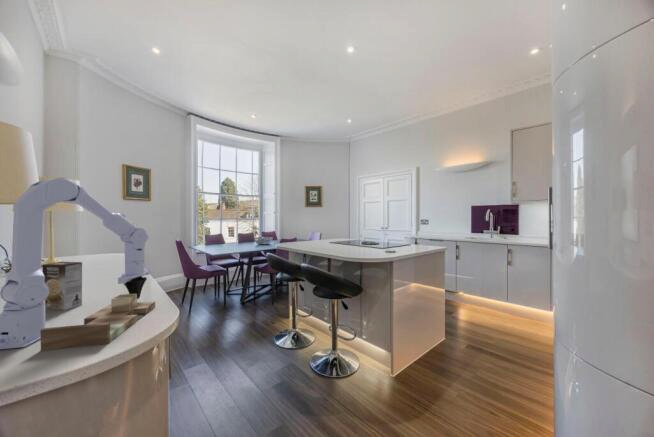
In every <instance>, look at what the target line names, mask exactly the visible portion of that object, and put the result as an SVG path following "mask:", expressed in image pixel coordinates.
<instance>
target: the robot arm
mask: <svg viewBox="0 0 654 437" xmlns="http://www.w3.org/2000/svg"><path fill="white" fill-rule="evenodd" d="M58 203H67V204H74V205H75V204H76V205H78V206H80V207H82V208H83V209H85V210H86V211H87V212H90V213H91V214H93V215H94V216H96V217H98V218H99V219H101V220H102V224H103V226H104V227H105V228H107V229H108V230H110V231H111V232H113V233H114V234H115V235H117V236H118V237H120V241H121V242H122V243H124V273H122V274H121V276H120V277H118V278H117V284H121V285H122V284H123V285H124V286H125V287H126V289H127V291H128V294H137V300H139V299H140V297H141V294H142V290H143V287H144V284H146V281H147V277H145V276H148V275H150V274H151V273H150V272H151V271H150V269H149V268H148V269H146V267H145V263H146V262H145V260H146V259H145V258H146V257H145V254H146V252H145V251H146V250H145V247H146V242H147V240H149V235H148V233H147V231H146V230H145V229H143V228H142V227H137V225H138V224H136V223H134V222H131V221H130V220H129V219H127V218H126V217H127V216H126V214H124V213H119V212H112V211H110V210H109V209H108V208H107V207H106V206H105V205H103V204H102V203H101V202H99V201H98V200H97V199H96V198H95V197H94V196H92V195H91V194H90V193H88V191H87V190H86V189H85V188H84V187H82V186H81V185H79V184H77V183H76V182H75V181H74V180H72V179H70V178H67V177H56V178H51V179H42V180H39V181H37V182H35V183H32V184H30V185H29V187H28V188H27V189H26V191H24V192H23V193H22V194H21V195H20V196H19V197H18V198H17V199H16V200H15V201H14V203H13V222H12V223H13V224H12V225H13V226H12V244H11V245H12V246H11V248H12V249H11V268H10V271H9V273H8V274H7V276H6V280H5V283H4V285H3V286H2V287H1V289H0V298H1V299H2V300H3V301H4V302H5V304H4V306H3V308H2V312H1V313H0V350H8V349H18V348H19V349H20V348H26V347H28V346H30V345H32V344H33V343H35V342H37V341H39V340H41V331H40V330H41V329H43V328H47V327H46V310H45V299H46V298H47V297H48V295H49V288H48V286H47V285H46V284H45V276H44V274H43V269H42V250H43V224H44V220H43V219H44V211H45V210H48V209H49V208H50V207H53V206H54V205H56V204H58Z"/></svg>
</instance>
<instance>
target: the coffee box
mask: <svg viewBox="0 0 654 437" xmlns="http://www.w3.org/2000/svg"><path fill="white" fill-rule="evenodd" d="M42 272H43V274H44V276H45V284H46V285H47V286H48V288H49V295H48V297H47V298H46V299H45V311H46V310H49V311H67V310H70V309H73V308H76V307H79V306H82V304H83V262H82V261H57V262H50V263H45V264H42Z"/></svg>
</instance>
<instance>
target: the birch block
mask: <svg viewBox="0 0 654 437" xmlns="http://www.w3.org/2000/svg"><path fill="white" fill-rule="evenodd" d="M110 300H111V302H110V305H111V312H112V311H125V310H130V309H132V308H133V307H135V306H136V305H137V303H138V299H137V294H129V293H125V294H119V295H116V296H114V297H113V298H111V299H110Z"/></svg>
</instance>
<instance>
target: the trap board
mask: <svg viewBox="0 0 654 437" xmlns="http://www.w3.org/2000/svg"><path fill="white" fill-rule="evenodd" d="M155 308H156V301H155V300H154V301H143V302H137V305H136V306H135V307H133V308H132V309H130V310H125V311H112V312H111V304H109V305H107V306H105V307H103V308H101V309H99V310H98V311H96V312H94V313H92V314H91V315H89V316H87V317H86V316H85V318H84V319H83V324H78V325H77V324H76V325H66V326H56V327H55V326H53V327H52V326H51V327H46V328H43V329H41V330H40V331H41V339H40V351H49V350H59V349H69V348H70V349H71V348H78V347H80V348H81V347H88V346H89V347H90V346H98V345H99V346H102V345H108V344H110V343H111V342H113V341H114V340H115V339H116V338H117V337H119V336H120V335H122V333H124V332H125V331H126V330H128V329H129V328H130V327H131V326H133V325H134V324H135V323H137V322H138V321H139V320H140V319H142V318H143V317H145V316H146V315H147V314H149V313H150V312H151V311H152V310H153V309H155ZM149 311H150V312H149Z"/></svg>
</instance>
